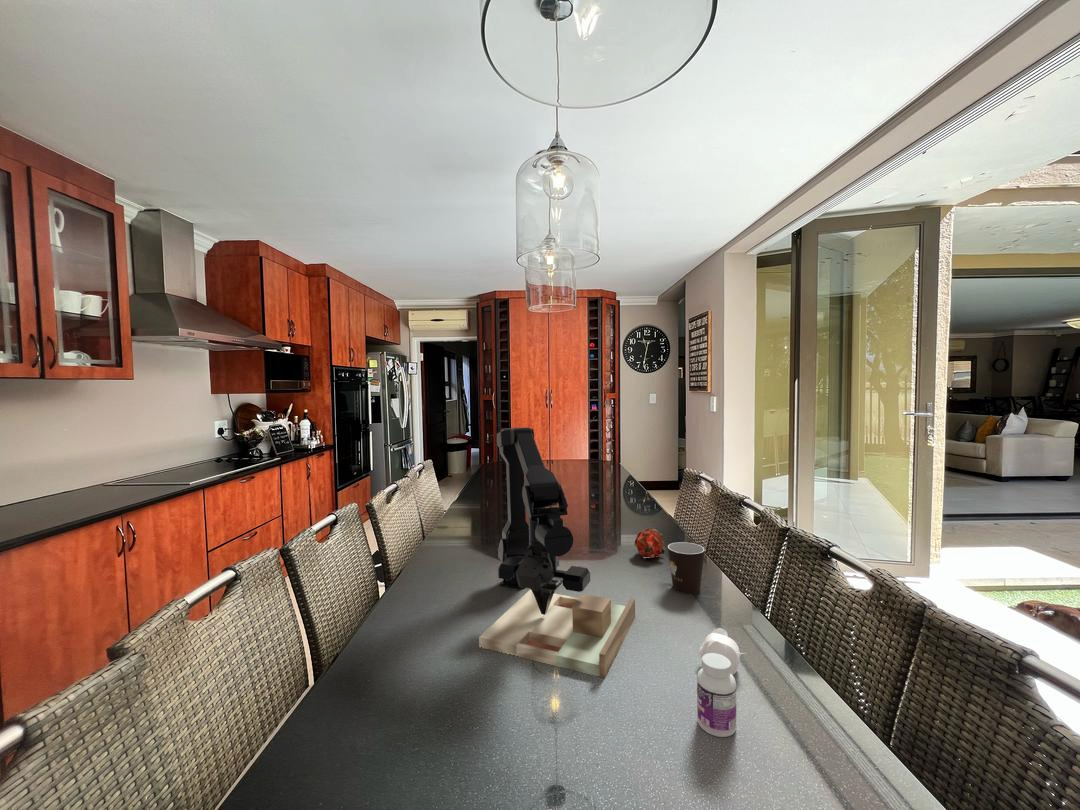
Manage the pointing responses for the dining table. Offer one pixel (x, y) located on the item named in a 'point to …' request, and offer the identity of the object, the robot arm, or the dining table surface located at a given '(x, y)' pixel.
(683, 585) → the coffee mug
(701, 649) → the elephant figurine
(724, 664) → the pill bottle
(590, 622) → the walnut block
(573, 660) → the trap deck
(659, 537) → the dragon fruit
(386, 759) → the dining table surface
